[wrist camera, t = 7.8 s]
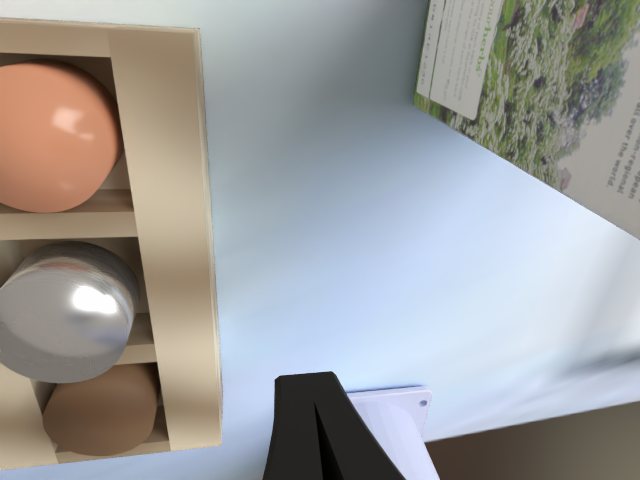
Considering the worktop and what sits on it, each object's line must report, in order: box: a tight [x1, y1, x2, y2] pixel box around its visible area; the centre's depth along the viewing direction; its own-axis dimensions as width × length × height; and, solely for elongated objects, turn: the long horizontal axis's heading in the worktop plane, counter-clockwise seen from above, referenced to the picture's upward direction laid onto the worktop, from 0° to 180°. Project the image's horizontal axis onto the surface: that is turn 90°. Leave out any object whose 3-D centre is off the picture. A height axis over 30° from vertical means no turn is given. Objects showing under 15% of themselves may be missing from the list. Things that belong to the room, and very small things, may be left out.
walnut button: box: [43, 362, 161, 456], centre depth 18 cm, size 4×4×2 cm
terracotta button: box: [0, 59, 124, 213], centre depth 13 cm, size 4×4×2 cm
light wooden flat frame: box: [0, 17, 223, 470], centre depth 16 cm, size 17×9×3 cm, turn 176°
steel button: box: [0, 241, 141, 383], centre depth 14 cm, size 4×4×2 cm
